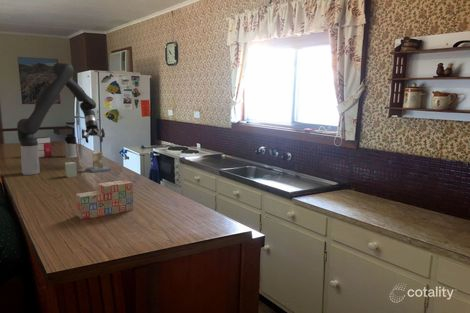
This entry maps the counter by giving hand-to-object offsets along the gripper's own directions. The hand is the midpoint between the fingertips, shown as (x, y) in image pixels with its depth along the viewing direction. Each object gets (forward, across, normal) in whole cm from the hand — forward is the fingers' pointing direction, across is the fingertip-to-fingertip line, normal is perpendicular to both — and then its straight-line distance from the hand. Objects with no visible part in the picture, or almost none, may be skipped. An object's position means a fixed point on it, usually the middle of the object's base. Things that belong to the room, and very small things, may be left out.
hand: (94, 142), depth 249 cm
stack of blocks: (+85, -12, -60) cm, 104 cm away
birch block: (+18, 0, +4) cm, 18 cm away
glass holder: (-25, -7, +49) cm, 55 cm away
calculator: (-30, -29, +54) cm, 68 cm away
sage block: (+27, -17, -3) cm, 33 cm away
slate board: (+19, 0, +5) cm, 20 cm away
